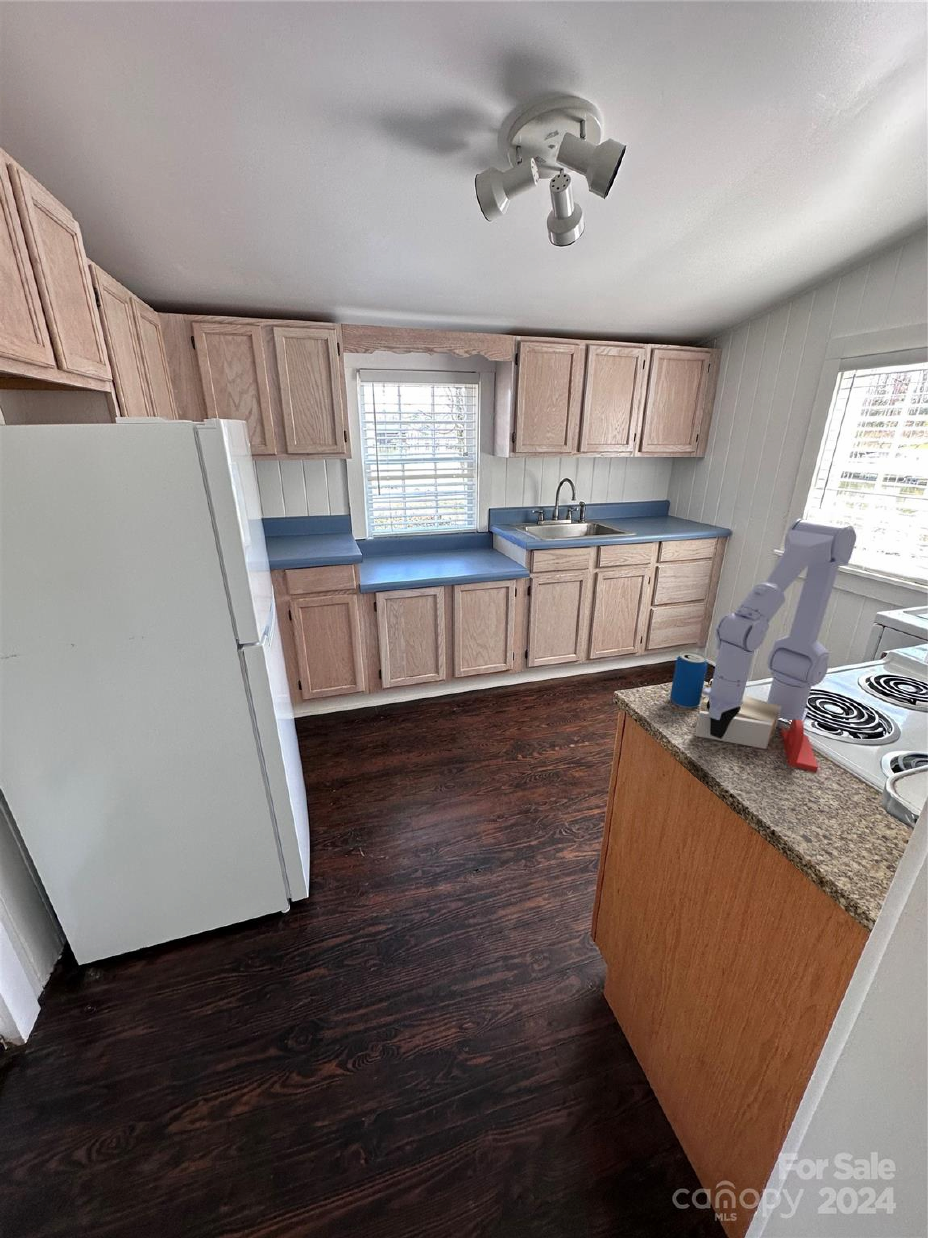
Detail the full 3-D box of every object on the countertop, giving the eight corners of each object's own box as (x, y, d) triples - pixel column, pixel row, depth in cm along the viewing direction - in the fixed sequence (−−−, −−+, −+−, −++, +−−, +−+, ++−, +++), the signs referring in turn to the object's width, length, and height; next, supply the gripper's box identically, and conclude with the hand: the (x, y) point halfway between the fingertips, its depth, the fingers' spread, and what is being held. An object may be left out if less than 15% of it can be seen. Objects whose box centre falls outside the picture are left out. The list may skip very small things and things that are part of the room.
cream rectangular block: (710, 707, 114) (715, 686, 112) (775, 729, 105) (781, 706, 103) (698, 723, 107) (702, 701, 105) (766, 747, 99) (772, 724, 97)
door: (695, 733, 103) (699, 710, 101) (765, 746, 99) (771, 722, 97) (695, 735, 102) (700, 712, 100) (766, 749, 98) (772, 725, 96)
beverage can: (678, 693, 120) (686, 648, 116) (704, 704, 115) (713, 657, 111) (664, 701, 116) (672, 655, 112) (690, 713, 111) (700, 665, 107)
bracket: (816, 772, 92) (827, 736, 89) (788, 765, 94) (798, 730, 91) (805, 739, 102) (815, 705, 99) (780, 733, 104) (789, 700, 101)
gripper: (719, 658, 102) (706, 714, 107) (696, 681, 92) (684, 743, 96) (757, 668, 98) (742, 726, 102) (738, 694, 87) (722, 758, 92)
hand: (716, 735), depth 99 cm, fingers closed
